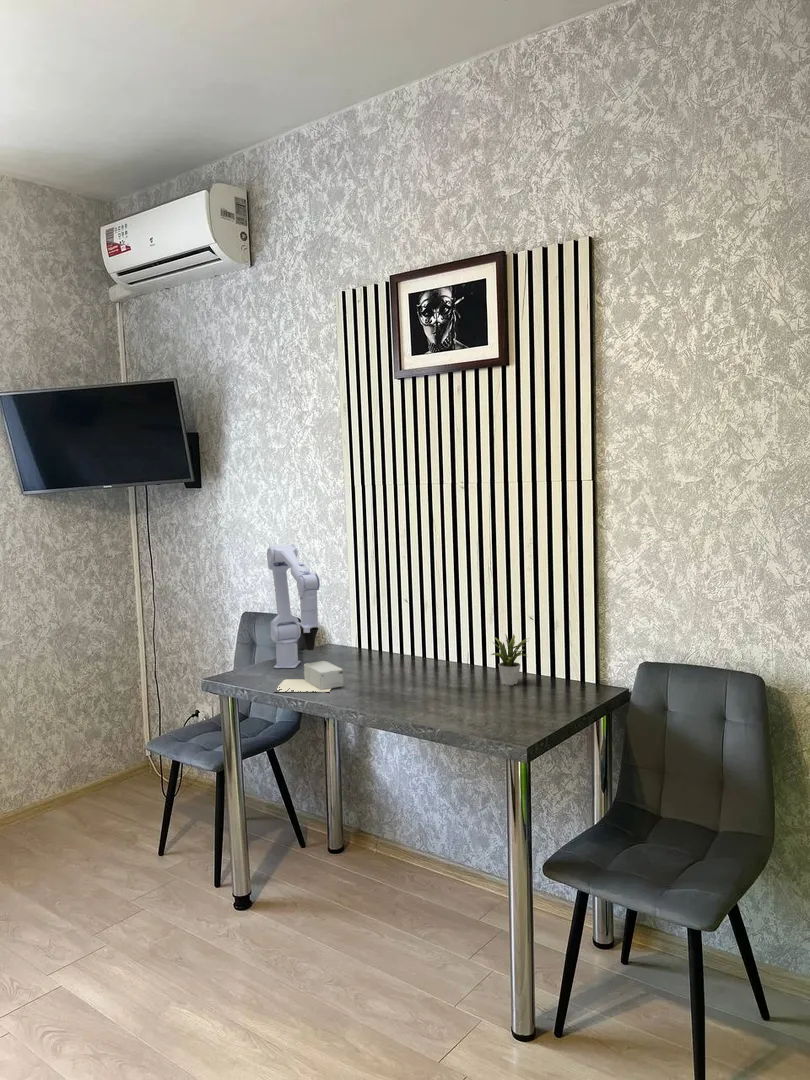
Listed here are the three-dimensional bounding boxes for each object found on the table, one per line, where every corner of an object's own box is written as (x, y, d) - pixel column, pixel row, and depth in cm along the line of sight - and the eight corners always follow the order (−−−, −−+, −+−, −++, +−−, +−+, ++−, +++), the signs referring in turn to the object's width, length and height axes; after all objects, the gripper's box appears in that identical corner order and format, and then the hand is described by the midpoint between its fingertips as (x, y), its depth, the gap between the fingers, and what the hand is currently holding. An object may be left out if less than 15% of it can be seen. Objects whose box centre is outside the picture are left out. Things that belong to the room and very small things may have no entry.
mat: (284, 680, 269) (284, 679, 269) (337, 680, 267) (337, 679, 267) (273, 693, 254) (273, 691, 254) (329, 693, 252) (329, 691, 252)
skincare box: (304, 680, 267) (319, 691, 254) (303, 662, 267) (318, 672, 253) (327, 676, 271) (343, 687, 258) (327, 659, 270) (343, 669, 257)
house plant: (537, 689, 250) (536, 638, 249) (493, 690, 250) (492, 639, 249) (529, 678, 265) (529, 629, 263) (488, 679, 265) (487, 630, 263)
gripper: (300, 606, 275) (301, 645, 276) (293, 613, 260) (295, 654, 261) (320, 606, 275) (321, 644, 276) (315, 613, 260) (316, 654, 261)
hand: (310, 649), depth 269 cm, fingers closed
